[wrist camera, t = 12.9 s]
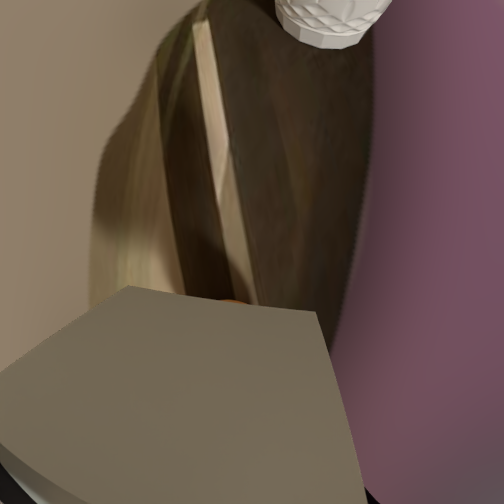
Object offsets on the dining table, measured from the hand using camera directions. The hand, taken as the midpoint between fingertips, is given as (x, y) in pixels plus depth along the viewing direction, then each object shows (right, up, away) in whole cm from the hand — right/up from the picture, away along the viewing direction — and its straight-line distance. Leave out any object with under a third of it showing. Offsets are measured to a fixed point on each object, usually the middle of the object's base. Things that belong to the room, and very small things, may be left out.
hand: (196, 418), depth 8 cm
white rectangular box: (0, 0, +3) cm, 3 cm away
